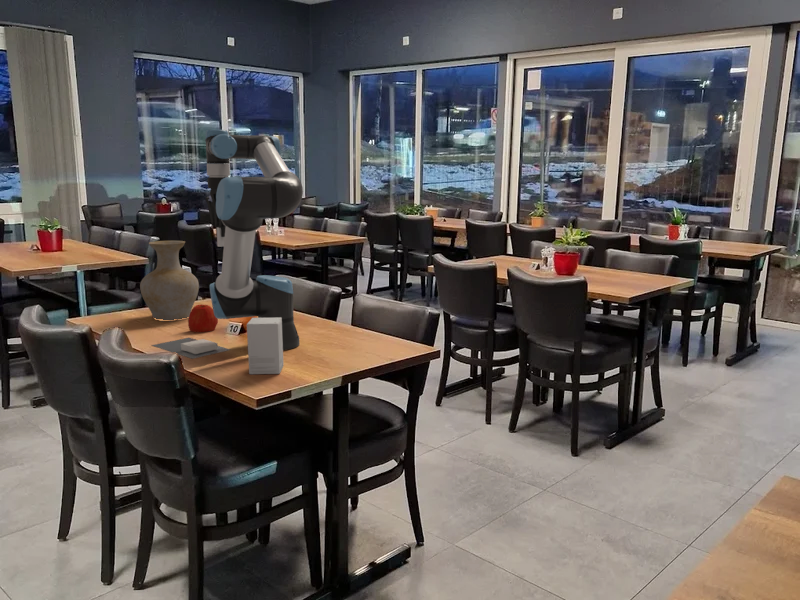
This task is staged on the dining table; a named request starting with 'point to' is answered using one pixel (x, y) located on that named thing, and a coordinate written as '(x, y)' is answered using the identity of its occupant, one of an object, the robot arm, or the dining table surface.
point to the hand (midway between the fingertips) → (222, 246)
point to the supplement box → (265, 345)
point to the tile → (199, 346)
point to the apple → (202, 319)
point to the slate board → (176, 347)
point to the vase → (169, 284)
